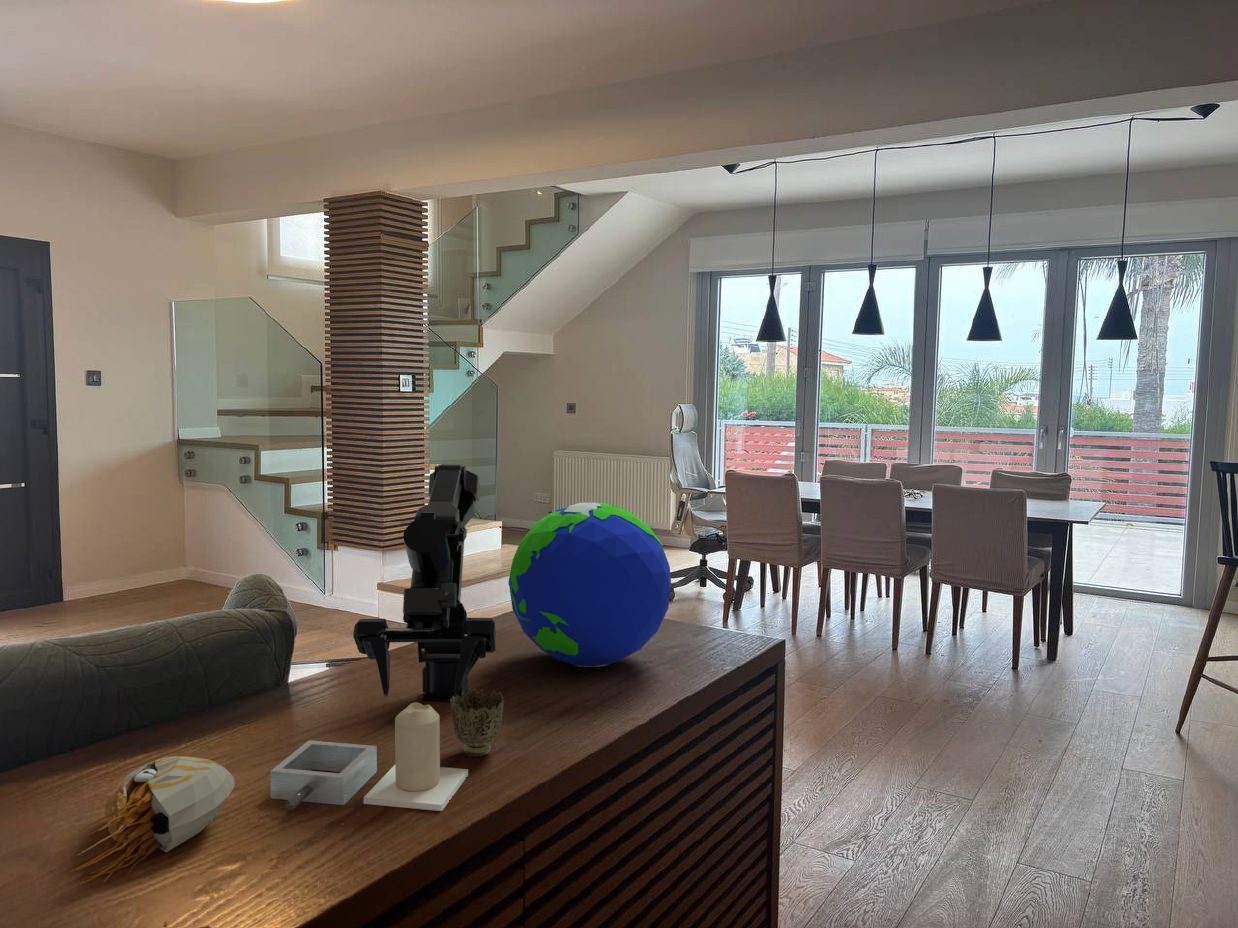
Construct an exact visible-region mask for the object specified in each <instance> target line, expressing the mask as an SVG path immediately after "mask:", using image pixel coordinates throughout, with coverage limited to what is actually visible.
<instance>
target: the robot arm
mask: <svg viewBox="0 0 1238 928" xmlns="http://www.w3.org/2000/svg"><path fill="white" fill-rule="evenodd" d="M428 479H429V480H428V498H429V499H428V500H429V501H428V503H427V505H424V506H422V507H419V508H418V509H417V511H416V513H415V516H414V519H413V520H411V521H410V522H409V524H408V526H407V527H406V528H405V530H404V531H403V543H404V547H405V550H406V555H407V558H408V559H407V560H408V563H409V566H410V568H411V569H412V572H411V580H410V587H409V588H408V587H407V588H404V590H403V604H402V606H403V607H402V613H403V615H402V621H403V623H405V624H406V627H389V626H388V623H387V619H386V618H360V619H359V620H358V621H356V623H355V624H354V626H353V634H352V637H353V639H354V642H355V644H356V647H357V650H358V653H360V654H363V655H366V656H367V658H368V659H369V660H375V662H376V665H377V670H378V673H379V679H380V684H381V689H382V692H383V696H384V697H388V696H389V692H390V682H391V681H390V677H391V676H390V675H391V674H390V673H391V655H390V652H389V649H390V643H417V652H418V663H421V664H422V663H425V665H424V666H423V667H422V669H421V673H422V674H421V675H422V676H421V677H422V679H421V682H422V683H421V684H422V687H421V689H422V693H423V694H422V695H421V697H420V699H421V700H422V701H423V700H424V701H434V702H435V701H436V702H438V701H439V702H449V703H450V699H451V700H452V696H454V697H455V695H456V696H458V695H459V696H460V697H461V694H462V692H463V691H465V693H466V694H468V693H469V692H470V691H471V690H472V686H470V685H468V678H469V677H468V676H469V674H470V673H471V671H472V669H473V667H475V665H476V663H477V662H478V660H479V659H484V658H486V657H487V654H490V653H491V654H492V653H494V652H496V651H497V650H496V648H497V647H496V646H497V631H496V622H495V620H494V619H493V618H492V617H468V613H467V611H466V609H465V606H464V605H463V603H462V601H461V599H462V597H461V596H462V584H463V582H462V580H463V569H464V568H463V567H464V566H463V565H464V551H465V550H464V549H465V540H466V538H467V536H468V535H467V534H468V531H467V528H466V526H467V524H468V523H469V521H471V520H472V518H473V517H474V516H475V514H476V505H477V504H476V503H477V502H480V500H481V499H480V497H481V487H480V486H481V483H480V480H479V479H480V478H479V475H478V474H475V473H474V472H472V471H470V470H467V467H466V466H465V465H462V464H438V465H435V466H434V471H433V472H432V473H430V474H429V477H428Z"/></svg>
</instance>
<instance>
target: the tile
mask: <svg viewBox="0 0 1238 928" xmlns="http://www.w3.org/2000/svg"><path fill="white" fill-rule="evenodd" d="M468 776H469V769H467V768H457V767H456V768H455V767H445V766H440V779H439V783H438V784H437V785H436V786H435V787H433V788H430V789H428V790H424V791H405V790H401V789H399V788H398V787H397V786H396V776H395V764H394V765H393V766H391V768H390V769H389V770H388V771H387V772H386V773H385V774H384V775H383V776H382V777H381V779H379V781H378V782H377V783H376V784H375V785H374V786H373V787H372V788H371V789H370V790H369V791H368V792H367V793H366V795H364V797H363V804H364V805H374V806H384V807H395V808H404V809H405V808H406V809H407V808H408V809H413V810H414V809H415V810H416V809H417V810H425V811H426V810H427V811H434V812H435V811H437V812H442V811H444V809H445V807H446V806H447V805H448V803H449V802H450V801H451V800H452V798H453V797H454V795H455V794H456V793H457V791H458V790H459V788H461V786H462V784H463V783H464V782H465V781H466V779H467V778H466V777H468ZM452 796H453V797H452ZM449 800H450V801H449Z"/></svg>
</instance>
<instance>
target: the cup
mask: <svg viewBox="0 0 1238 928" xmlns="http://www.w3.org/2000/svg"><path fill="white" fill-rule="evenodd" d="M449 704H450V710H451V719H452V726H453V730H454V734H455V737H456V739H457V740H458V741H459V742H460V743H461V744H463V751H464V753H465V754H466V755H467V756H469V757H474V758H475V757H476V758H477V757H478V758H479V756H480V757H484V756H485V755H487V754H489V752H490V750H491V747H492V746H491V743H493V741H495V740H496V739H497V738H498V736H499V733H500V730H501V726H502V720H503V712H504V704H505V696H503V695H502V692H496V691H495V690H492V692H491V693H490V695H489V694H484V690H483V689H480V690H479V692H478V691H477V689H476V688H471V690H470V691H469V692H468V693H467V694H466V693H465V691H463V692H462V694H461V697H460V696H459V695H458V696H456V695H455V697H454V696H452V700H451V699H450V702H449ZM483 755H484V756H483Z"/></svg>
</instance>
